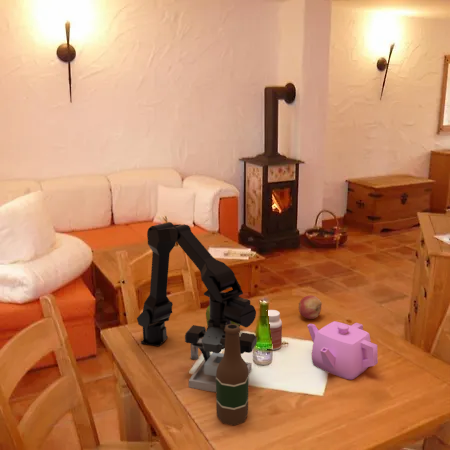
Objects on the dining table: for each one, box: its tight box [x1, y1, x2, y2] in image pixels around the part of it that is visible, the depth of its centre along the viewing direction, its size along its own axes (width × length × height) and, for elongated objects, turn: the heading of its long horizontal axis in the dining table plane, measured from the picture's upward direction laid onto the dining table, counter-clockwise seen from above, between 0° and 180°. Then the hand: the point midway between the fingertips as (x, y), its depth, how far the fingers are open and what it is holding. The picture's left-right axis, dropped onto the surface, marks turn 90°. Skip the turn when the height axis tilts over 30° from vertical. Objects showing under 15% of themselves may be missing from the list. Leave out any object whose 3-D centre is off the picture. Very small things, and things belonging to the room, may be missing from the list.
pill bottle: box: [267, 309, 283, 351], centre depth 157 cm, size 6×6×11 cm
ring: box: [204, 349, 224, 376], centre depth 141 cm, size 9×7×3 cm
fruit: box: [298, 294, 323, 320], centre depth 176 cm, size 8×8×8 cm
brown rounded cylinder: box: [190, 343, 199, 361], centre depth 152 cm, size 2×2×4 cm
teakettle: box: [306, 320, 379, 381], centre depth 146 cm, size 17×17×12 cm
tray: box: [188, 358, 253, 393], centre depth 141 cm, size 14×14×2 cm
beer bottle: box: [215, 324, 250, 426], centre depth 122 cm, size 8×8×24 cm
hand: (220, 366), depth 141 cm, fingers closed on ring, 7 cm apart
